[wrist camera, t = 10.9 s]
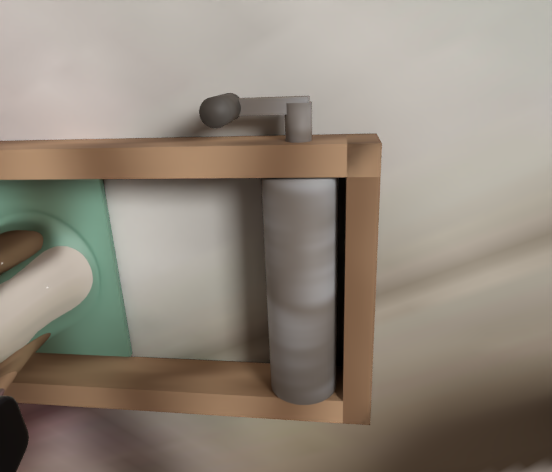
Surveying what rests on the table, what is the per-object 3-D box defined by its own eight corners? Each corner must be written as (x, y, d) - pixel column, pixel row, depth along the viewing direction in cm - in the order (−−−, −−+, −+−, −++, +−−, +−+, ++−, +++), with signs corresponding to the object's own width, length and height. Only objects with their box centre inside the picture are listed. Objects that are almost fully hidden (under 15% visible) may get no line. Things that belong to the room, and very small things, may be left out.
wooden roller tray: (378, 86, 18) (387, 91, 14) (366, 388, 23) (372, 447, 19) (-80, 101, 20) (-167, 109, 17) (-2, 368, 25) (-57, 417, 22)
